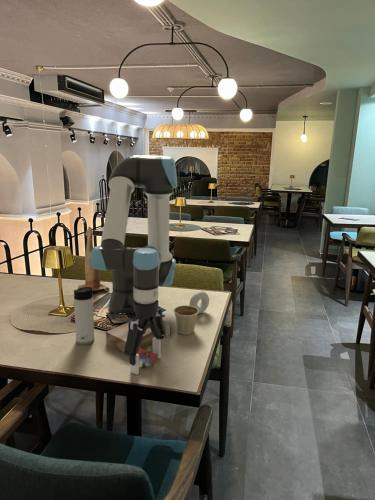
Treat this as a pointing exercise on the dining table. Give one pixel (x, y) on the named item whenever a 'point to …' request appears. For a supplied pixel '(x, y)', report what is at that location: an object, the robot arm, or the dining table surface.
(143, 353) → the geometric puzzle
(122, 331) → the walnut block
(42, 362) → the dining table surface
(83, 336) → the travel mug
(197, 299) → the donut
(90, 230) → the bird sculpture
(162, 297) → the dining table surface
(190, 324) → the flower pot
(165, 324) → the grey tape dispenser
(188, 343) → the dining table surface
